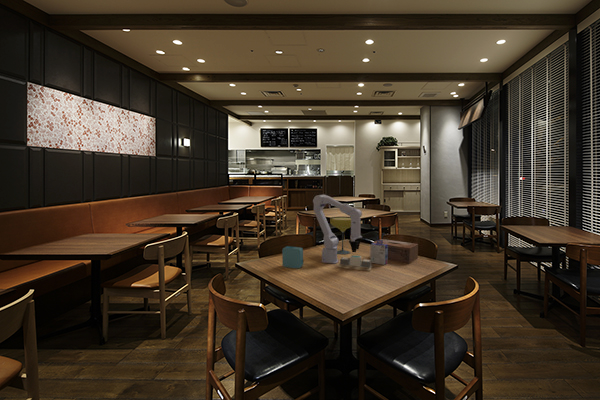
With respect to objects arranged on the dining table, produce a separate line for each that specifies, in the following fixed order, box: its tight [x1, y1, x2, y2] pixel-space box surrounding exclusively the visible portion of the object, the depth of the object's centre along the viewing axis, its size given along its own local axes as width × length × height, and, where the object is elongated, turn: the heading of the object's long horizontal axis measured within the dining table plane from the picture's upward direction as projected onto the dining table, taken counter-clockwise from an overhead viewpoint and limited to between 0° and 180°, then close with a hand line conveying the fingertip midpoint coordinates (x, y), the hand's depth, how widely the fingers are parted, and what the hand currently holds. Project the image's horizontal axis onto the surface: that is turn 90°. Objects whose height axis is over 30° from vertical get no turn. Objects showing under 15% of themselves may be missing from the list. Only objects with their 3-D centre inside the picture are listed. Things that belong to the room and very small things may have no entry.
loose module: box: [349, 254, 362, 266], centre depth 186 cm, size 6×4×5 cm, turn 68°
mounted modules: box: [339, 256, 372, 267], centre depth 186 cm, size 18×5×3 cm, turn 68°
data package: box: [281, 245, 304, 270], centre depth 187 cm, size 12×4×12 cm, turn 69°
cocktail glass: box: [329, 216, 351, 255], centre depth 220 cm, size 18×18×25 cm
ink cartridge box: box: [369, 239, 389, 266], centre depth 194 cm, size 10×6×14 cm, turn 56°
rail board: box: [338, 264, 373, 272], centre depth 186 cm, size 19×9×1 cm, turn 68°
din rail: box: [338, 263, 373, 268], centre depth 186 cm, size 19×5×1 cm, turn 68°
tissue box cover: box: [371, 238, 419, 264], centre depth 207 cm, size 26×14×10 cm, turn 50°
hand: (355, 250), depth 189 cm, fingers open, 7 cm apart
